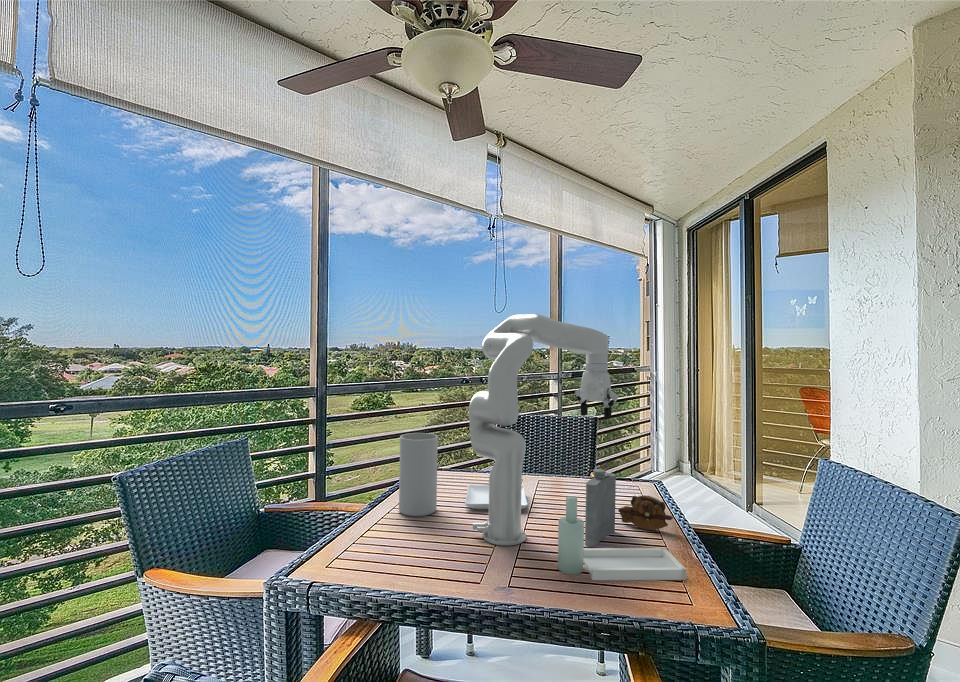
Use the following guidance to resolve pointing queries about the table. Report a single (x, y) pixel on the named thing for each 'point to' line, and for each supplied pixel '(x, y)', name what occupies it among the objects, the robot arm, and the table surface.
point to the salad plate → (485, 497)
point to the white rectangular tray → (632, 564)
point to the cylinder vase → (418, 474)
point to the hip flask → (600, 507)
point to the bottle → (570, 540)
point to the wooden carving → (645, 513)
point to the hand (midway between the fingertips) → (595, 416)
